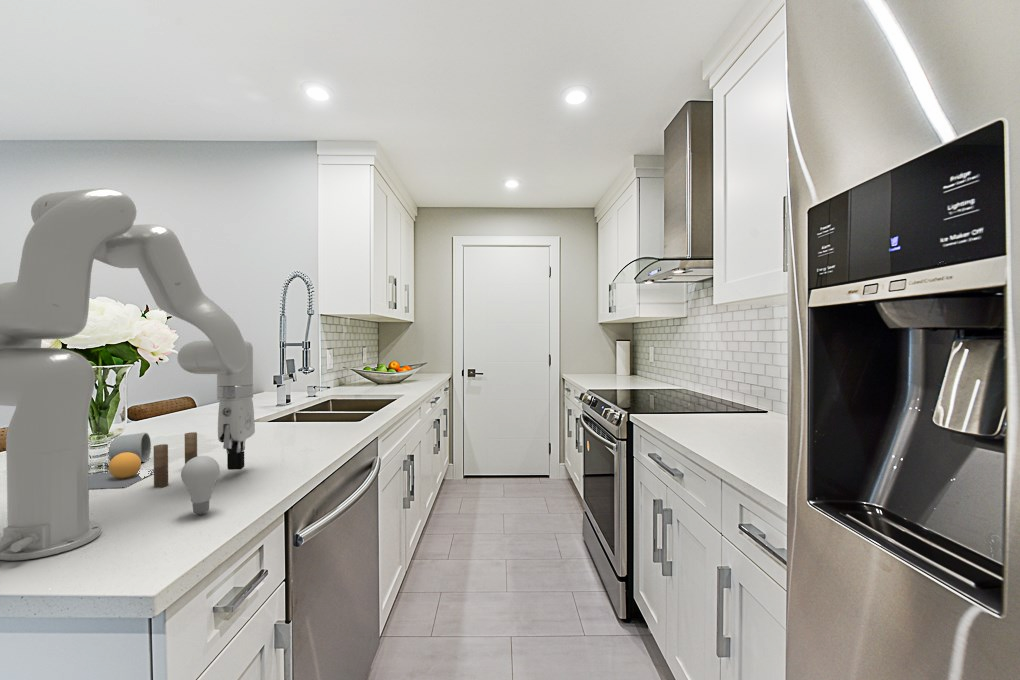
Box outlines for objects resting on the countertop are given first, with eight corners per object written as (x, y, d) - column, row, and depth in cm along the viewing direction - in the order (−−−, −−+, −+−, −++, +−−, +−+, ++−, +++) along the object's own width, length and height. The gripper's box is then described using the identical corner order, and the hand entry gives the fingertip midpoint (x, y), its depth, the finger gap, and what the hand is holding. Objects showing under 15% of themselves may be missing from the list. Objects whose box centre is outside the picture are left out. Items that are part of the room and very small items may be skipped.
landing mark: (125, 487, 106) (125, 487, 106) (53, 491, 103) (53, 490, 103) (161, 469, 119) (161, 469, 119) (98, 472, 117) (98, 471, 117)
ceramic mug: (115, 460, 128) (114, 432, 128) (151, 457, 131) (151, 429, 131) (97, 472, 118) (96, 441, 118) (137, 469, 121) (136, 438, 121)
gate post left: (164, 487, 106) (163, 446, 106) (151, 488, 106) (150, 447, 105) (170, 483, 108) (170, 444, 108) (158, 484, 108) (157, 444, 108)
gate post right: (194, 470, 119) (193, 434, 119) (182, 471, 119) (182, 434, 118) (199, 467, 121) (199, 432, 121) (188, 468, 121) (187, 432, 121)
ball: (110, 451, 109) (96, 473, 109) (133, 464, 110) (120, 487, 110) (130, 444, 115) (117, 466, 115) (152, 457, 116) (139, 478, 116)
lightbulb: (227, 509, 93) (226, 452, 93) (204, 521, 87) (203, 460, 87) (198, 507, 94) (197, 451, 93) (173, 520, 88) (172, 460, 87)
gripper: (239, 396, 108) (240, 477, 109) (263, 388, 123) (263, 460, 123) (203, 396, 107) (204, 478, 107) (231, 389, 122) (232, 461, 122)
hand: (236, 468), depth 115 cm, fingers closed
